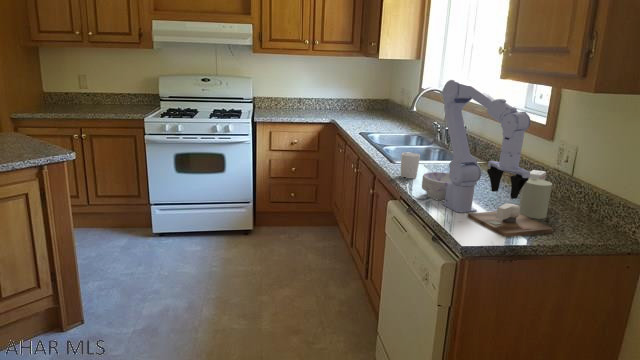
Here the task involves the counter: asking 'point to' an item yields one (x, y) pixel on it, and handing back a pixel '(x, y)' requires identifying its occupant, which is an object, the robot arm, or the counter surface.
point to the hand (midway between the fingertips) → (503, 194)
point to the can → (535, 198)
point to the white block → (507, 211)
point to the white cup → (409, 164)
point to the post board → (510, 224)
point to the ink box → (537, 174)
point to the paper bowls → (435, 184)
